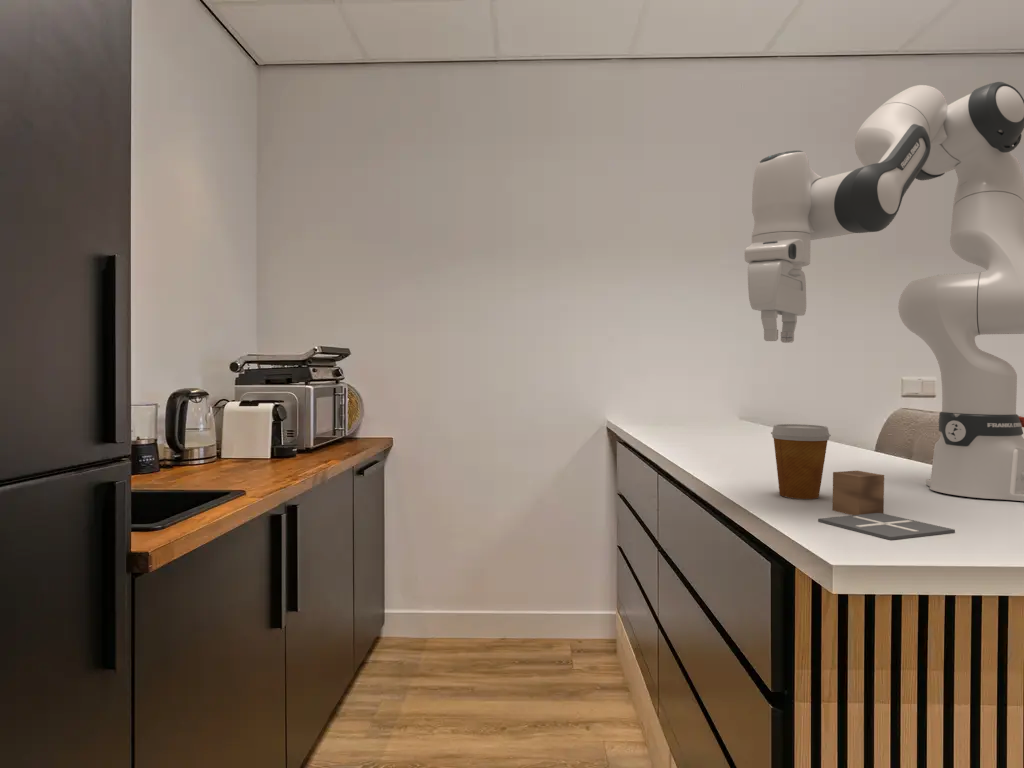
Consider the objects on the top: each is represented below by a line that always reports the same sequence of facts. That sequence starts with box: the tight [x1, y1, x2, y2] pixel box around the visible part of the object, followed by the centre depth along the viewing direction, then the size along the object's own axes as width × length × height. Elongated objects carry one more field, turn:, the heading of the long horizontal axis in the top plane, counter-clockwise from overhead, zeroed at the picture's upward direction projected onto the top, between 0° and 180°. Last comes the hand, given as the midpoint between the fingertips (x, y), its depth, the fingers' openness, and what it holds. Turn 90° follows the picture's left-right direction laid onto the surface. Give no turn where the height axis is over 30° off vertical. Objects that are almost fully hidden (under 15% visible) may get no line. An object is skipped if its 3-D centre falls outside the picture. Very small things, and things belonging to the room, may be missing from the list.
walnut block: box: [831, 470, 885, 516], centre depth 112 cm, size 5×5×6 cm
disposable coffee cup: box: [770, 423, 831, 500], centre depth 125 cm, size 10×10×12 cm
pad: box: [817, 513, 956, 541], centre depth 101 cm, size 12×12×1 cm
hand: (779, 341), depth 117 cm, fingers open, 8 cm apart
